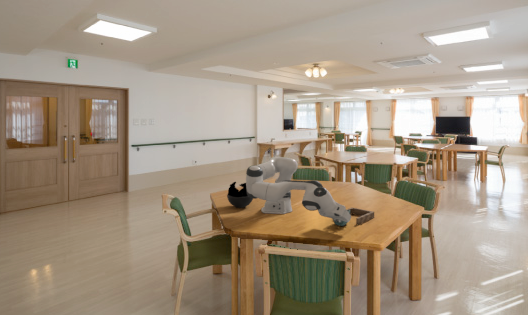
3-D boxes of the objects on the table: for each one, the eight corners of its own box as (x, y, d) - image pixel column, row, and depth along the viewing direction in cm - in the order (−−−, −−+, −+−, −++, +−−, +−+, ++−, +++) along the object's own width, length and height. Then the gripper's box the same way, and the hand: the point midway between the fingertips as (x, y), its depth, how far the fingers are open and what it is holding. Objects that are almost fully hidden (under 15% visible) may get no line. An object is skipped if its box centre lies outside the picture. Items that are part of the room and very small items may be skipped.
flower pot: (337, 221, 210) (337, 208, 209) (350, 224, 204) (350, 210, 203) (331, 225, 203) (331, 210, 202) (344, 227, 197) (344, 213, 196)
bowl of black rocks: (257, 209, 240) (256, 184, 238) (230, 211, 234) (229, 186, 232) (249, 203, 259) (249, 179, 257) (224, 205, 253) (224, 181, 251)
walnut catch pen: (358, 224, 203) (358, 218, 202) (335, 219, 214) (335, 213, 214) (374, 217, 218) (374, 211, 218) (351, 213, 229) (352, 207, 229)
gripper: (313, 208, 196) (321, 221, 204) (343, 215, 182) (351, 229, 190) (317, 200, 199) (326, 213, 207) (347, 206, 185) (355, 220, 192)
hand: (338, 221), depth 198 cm, fingers closed
